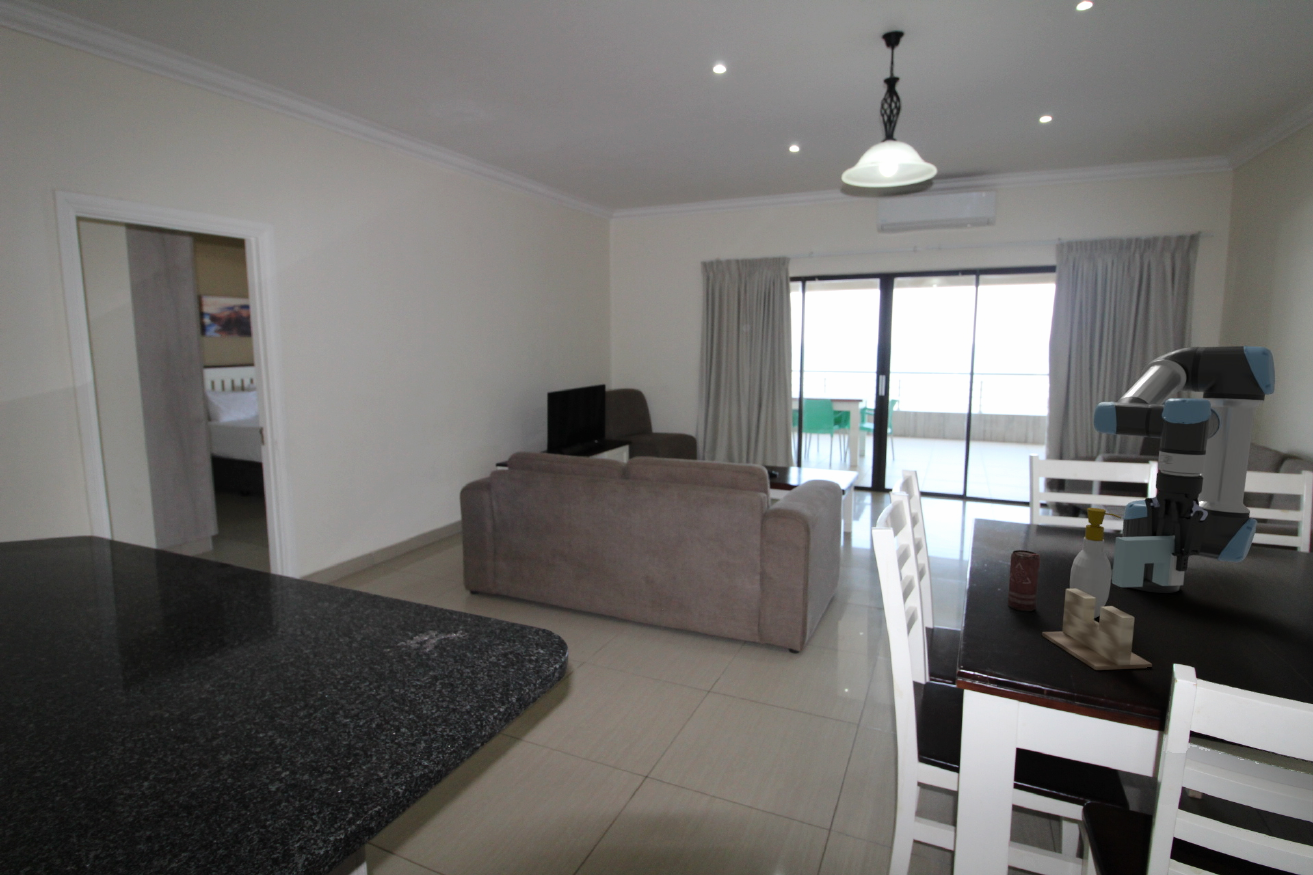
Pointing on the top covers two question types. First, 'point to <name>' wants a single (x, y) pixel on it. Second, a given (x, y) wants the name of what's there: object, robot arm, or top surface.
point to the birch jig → (1096, 634)
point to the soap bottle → (1093, 562)
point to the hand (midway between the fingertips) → (1168, 581)
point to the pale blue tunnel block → (1142, 559)
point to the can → (1023, 580)
